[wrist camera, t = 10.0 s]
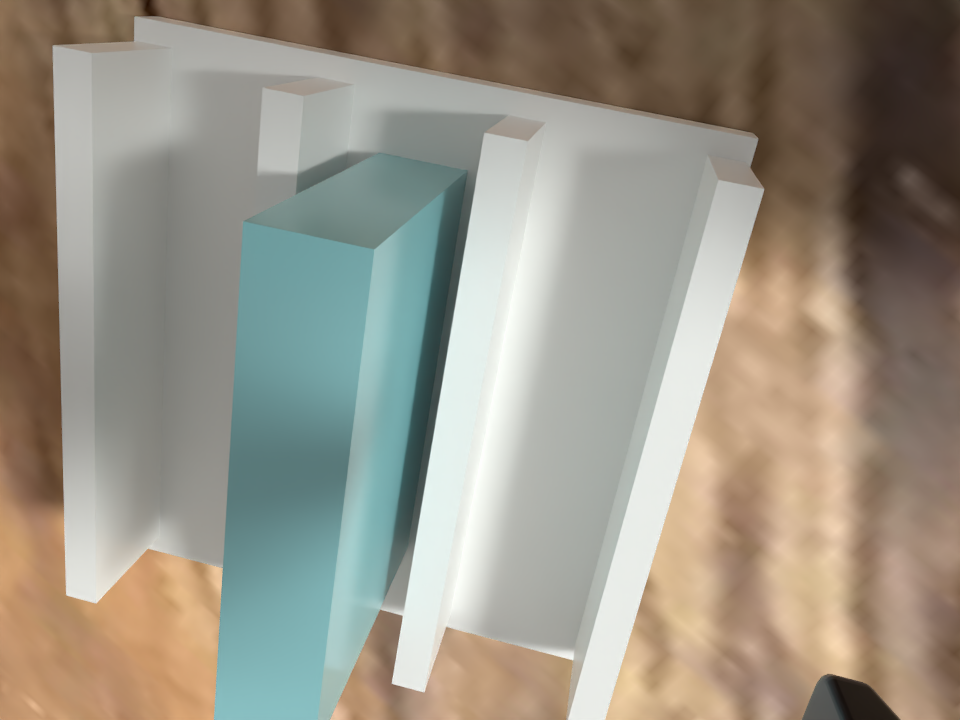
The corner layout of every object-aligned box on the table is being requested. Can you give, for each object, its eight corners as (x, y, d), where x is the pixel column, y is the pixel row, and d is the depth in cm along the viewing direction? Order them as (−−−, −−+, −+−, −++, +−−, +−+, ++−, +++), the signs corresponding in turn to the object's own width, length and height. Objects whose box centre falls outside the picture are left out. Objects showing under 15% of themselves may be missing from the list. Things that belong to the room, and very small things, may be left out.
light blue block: (467, 170, 19) (374, 249, 12) (407, 548, 23) (312, 756, 16) (379, 152, 19) (243, 220, 13) (335, 529, 23) (213, 728, 17)
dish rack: (753, 132, 18) (778, 161, 15) (605, 643, 24) (597, 756, 20) (158, 16, 20) (47, 15, 16) (147, 524, 25) (62, 610, 22)
